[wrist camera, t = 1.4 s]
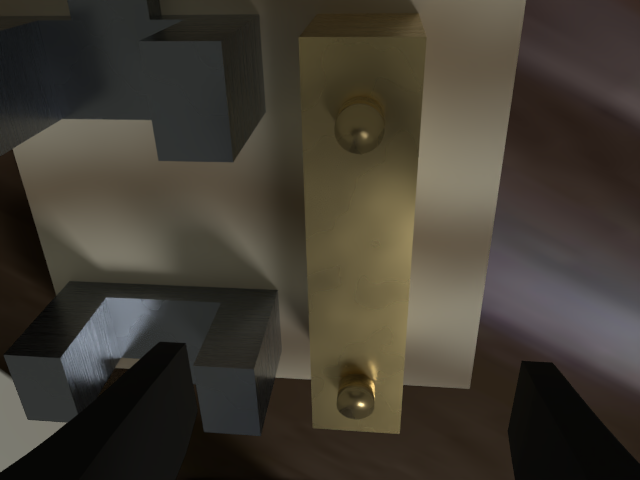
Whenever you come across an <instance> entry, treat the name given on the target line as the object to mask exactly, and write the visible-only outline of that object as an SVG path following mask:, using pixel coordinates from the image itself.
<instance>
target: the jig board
mask: <svg viewBox="0 0 640 480" xmlns="http://www.w3.org/2000/svg"><path fill="white" fill-rule="evenodd" d="M159 1H160V8H161V14H162V15H231V14H259V17H260V32H261V47H262V62H263V77H264V92H265V106H266V113H265V114H264V116H263V117H262V119H261V120H260V122H259V124H258V125H257V127H256V128H255V130H254V131H253V133H252V134H251V136H250V137H249V139H248V140H247V142H246V144H245V145H244V147H243V148H242V150H241V151H240V153H239V154H238V156H237V157H236V159H235V160H234V162H186V161H158V155H157V149H156V143H155V138H154V132H153V126H152V120H106V119H61V120H60V121H58V122H56V123H55V124H53V125H51V126H50V127H48V128H46V129H45V130H43V131H41V132H40V133H38V134H36V135H35V136H33V137H31V138H30V139H28V140H26V141H25V142H23V143H21V144H20V145H18V146H16V147H15V148H13V151H14V155H15V158H16V162H17V165H18V168H19V172H20V175H21V178H22V182H23V185H24V188H25V192H26V195H27V199H28V202H29V205H30V209H31V212H32V215H33V219H34V222H35V225H36V229H37V232H38V235H39V239H40V242H41V246H42V249H43V252H44V256H45V259H46V262H47V266H48V269H49V272H50V276H51V279H52V283H53V286H54V289H55V293H56V296H57V294H58V293H59V292H60V291H61V290H62V289H63V288H64V287H65V285H66V284H67V283H68V282H69V281H81V282H104V283H127V284H151V285H174V286H197V287H221V288H244V289H267V290H278V299H279V314H280V329H281V344H282V352H281V356H280V360H279V364H278V368H277V372H276V376H275V377H279V378H296V379H311V364H310V337H309V309H308V282H307V255H306V227H305V200H304V173H303V145H302V118H301V91H300V63H299V36H300V35H301V33H302V32H303V31H304V30H305V28H306V27H307V26H308V25H309V23H310V22H311V21H312V20H313V18H314V17H315V16H316V14H375V13H419V16H420V18H421V21H422V24H423V27H424V30H425V33H426V36H427V41H426V56H425V70H424V85H423V99H422V114H421V129H420V143H419V158H418V173H417V187H416V202H415V216H414V231H413V246H412V260H411V275H410V290H409V304H408V319H407V334H406V348H405V363H404V377H403V385H415V386H432V387H449V388H466V389H470V382H471V376H472V369H473V362H474V355H475V348H476V341H477V334H478V327H479V320H480V314H481V307H482V300H483V293H484V286H485V279H486V272H487V265H488V258H489V251H490V245H491V238H492V231H493V224H494V217H495V210H496V203H497V196H498V189H499V183H500V176H501V169H502V162H503V155H504V148H505V141H506V134H507V127H508V121H509V114H510V107H511V100H512V93H513V86H514V79H515V72H516V65H517V59H518V52H519V45H520V38H521V31H522V24H523V17H524V10H525V3H526V0H159ZM0 16H70V11H69V7H68V2H67V0H0ZM138 360H139V359H132V358H121V359H120V361H119V362H118V364H117V365H116V367H115V368H126V369H130V368H131V367H132V366H133V365H134V364H135V363H136V362H137V361H138Z"/></svg>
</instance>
